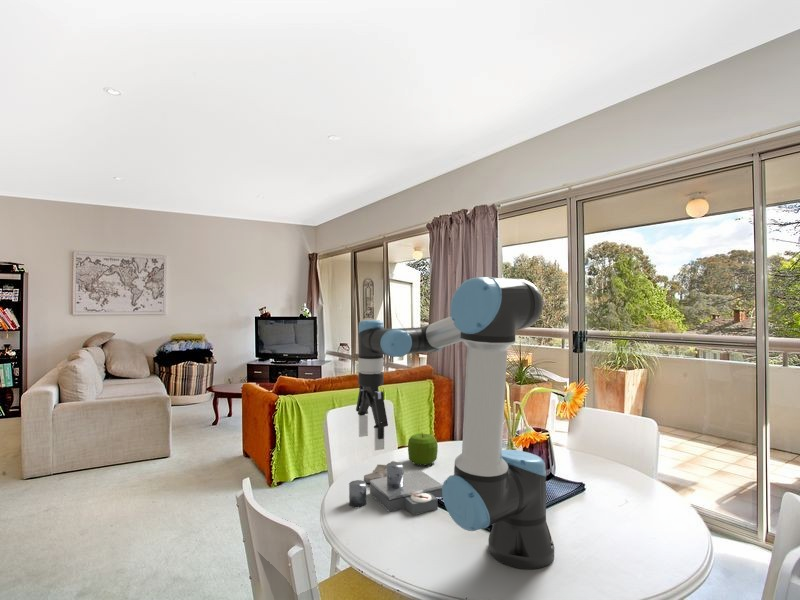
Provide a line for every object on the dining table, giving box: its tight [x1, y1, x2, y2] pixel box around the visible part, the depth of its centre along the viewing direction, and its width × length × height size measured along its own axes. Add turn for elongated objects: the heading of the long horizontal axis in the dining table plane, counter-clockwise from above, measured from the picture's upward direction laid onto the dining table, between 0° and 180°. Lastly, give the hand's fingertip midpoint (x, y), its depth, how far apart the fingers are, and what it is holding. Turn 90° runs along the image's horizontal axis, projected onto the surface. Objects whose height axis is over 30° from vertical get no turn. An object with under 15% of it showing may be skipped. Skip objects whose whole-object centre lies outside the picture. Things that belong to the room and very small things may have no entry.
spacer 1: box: [348, 479, 367, 508], centre depth 135 cm, size 5×5×6 cm
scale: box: [369, 483, 443, 516], centre depth 137 cm, size 20×18×4 cm
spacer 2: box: [386, 461, 404, 488], centre depth 138 cm, size 5×5×6 cm
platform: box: [369, 470, 443, 500], centre depth 140 cm, size 14×18×1 cm
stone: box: [363, 460, 396, 484], centre depth 154 cm, size 15×10×4 cm, turn 157°
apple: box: [407, 432, 439, 466], centre depth 169 cm, size 11×11×11 cm
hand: (370, 442), depth 137 cm, fingers open, 13 cm apart
